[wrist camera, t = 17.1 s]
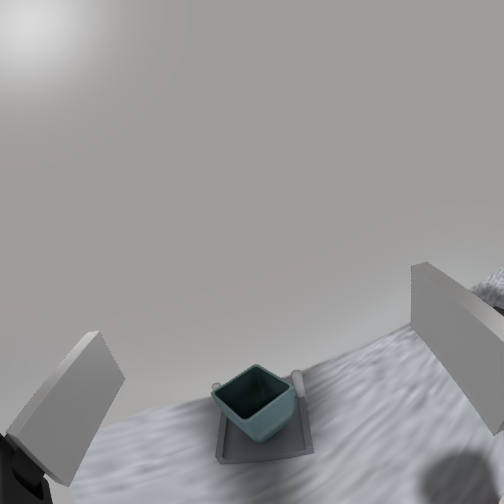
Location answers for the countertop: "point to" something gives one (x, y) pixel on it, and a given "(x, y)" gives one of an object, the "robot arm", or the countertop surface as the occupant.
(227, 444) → the tray
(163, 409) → the countertop surface
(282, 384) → the flower pot
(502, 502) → the plastic cup
